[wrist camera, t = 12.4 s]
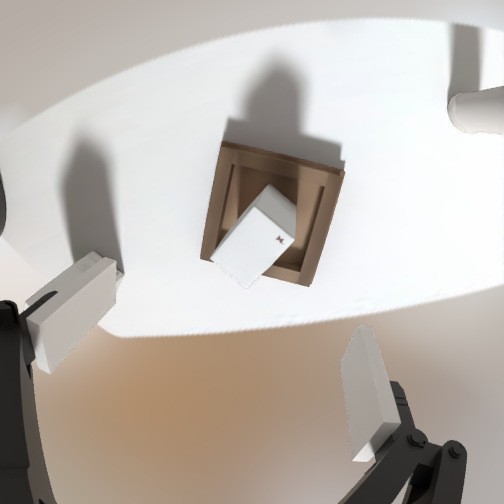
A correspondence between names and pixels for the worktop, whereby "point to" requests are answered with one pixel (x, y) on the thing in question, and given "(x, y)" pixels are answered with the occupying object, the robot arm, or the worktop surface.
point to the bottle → (478, 111)
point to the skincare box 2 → (257, 237)
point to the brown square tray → (291, 186)
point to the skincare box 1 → (70, 277)
